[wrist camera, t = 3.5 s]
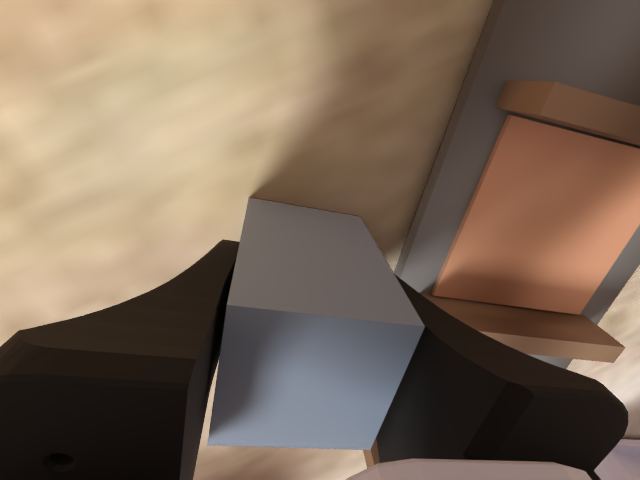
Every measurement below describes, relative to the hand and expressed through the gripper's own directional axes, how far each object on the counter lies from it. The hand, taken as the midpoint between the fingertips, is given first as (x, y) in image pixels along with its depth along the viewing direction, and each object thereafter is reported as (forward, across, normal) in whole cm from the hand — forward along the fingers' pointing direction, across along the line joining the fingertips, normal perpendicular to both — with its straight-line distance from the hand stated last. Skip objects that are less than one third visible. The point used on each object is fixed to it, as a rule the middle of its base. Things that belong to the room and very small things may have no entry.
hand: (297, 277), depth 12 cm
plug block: (+1, 0, 0) cm, 1 cm away
